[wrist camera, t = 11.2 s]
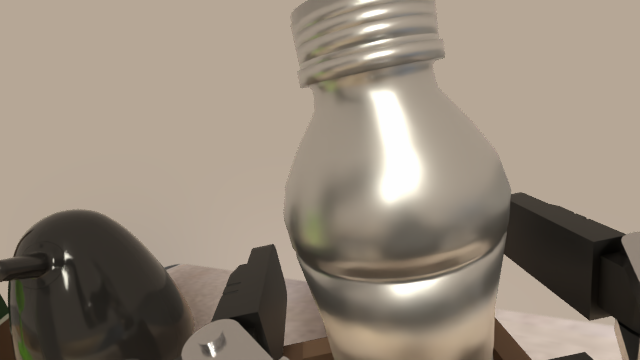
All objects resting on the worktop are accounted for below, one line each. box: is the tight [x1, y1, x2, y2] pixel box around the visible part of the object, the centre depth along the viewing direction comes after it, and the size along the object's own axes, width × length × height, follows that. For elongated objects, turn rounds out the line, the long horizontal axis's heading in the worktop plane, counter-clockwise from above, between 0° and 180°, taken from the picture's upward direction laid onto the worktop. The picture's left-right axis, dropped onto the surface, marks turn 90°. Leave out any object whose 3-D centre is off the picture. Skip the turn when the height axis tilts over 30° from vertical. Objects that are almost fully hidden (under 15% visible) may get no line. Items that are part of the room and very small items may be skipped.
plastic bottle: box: [284, 0, 511, 360], centre depth 11 cm, size 6×7×20 cm
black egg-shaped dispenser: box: [0, 209, 194, 360], centre depth 21 cm, size 10×10×15 cm
